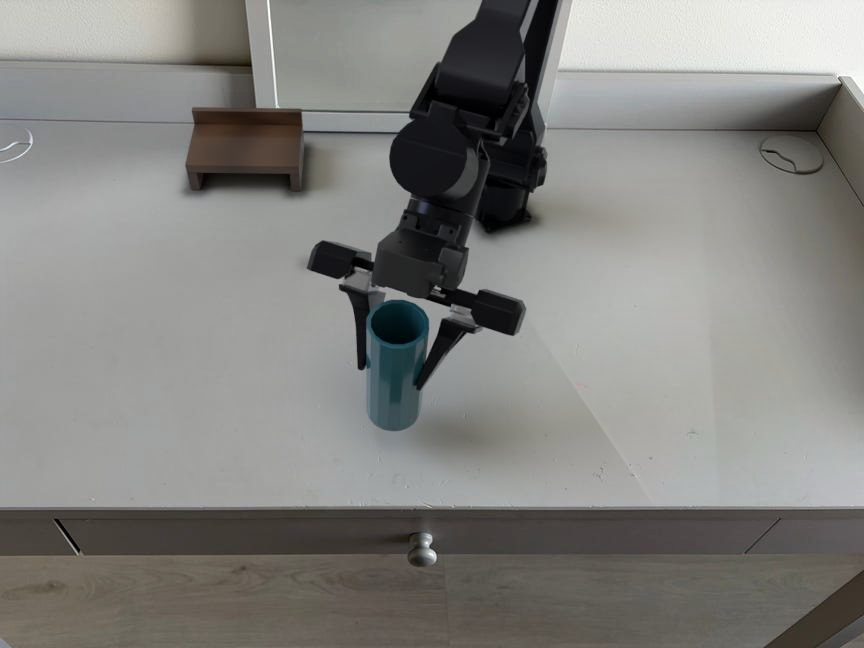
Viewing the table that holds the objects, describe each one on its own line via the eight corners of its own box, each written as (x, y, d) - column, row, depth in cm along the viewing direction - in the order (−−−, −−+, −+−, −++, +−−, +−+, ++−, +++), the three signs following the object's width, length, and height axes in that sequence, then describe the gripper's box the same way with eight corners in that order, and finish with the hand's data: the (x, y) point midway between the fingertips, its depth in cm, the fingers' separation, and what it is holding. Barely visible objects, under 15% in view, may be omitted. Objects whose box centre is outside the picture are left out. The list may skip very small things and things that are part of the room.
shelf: (304, 146, 105) (301, 108, 100) (300, 191, 99) (297, 153, 95) (200, 145, 104) (192, 106, 100) (190, 190, 99) (181, 151, 94)
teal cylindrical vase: (407, 379, 77) (413, 292, 67) (429, 421, 74) (439, 336, 64) (358, 395, 76) (357, 309, 65) (378, 438, 73) (380, 355, 62)
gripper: (309, 165, 60) (258, 355, 63) (541, 234, 56) (476, 433, 59) (352, 182, 71) (306, 343, 74) (549, 241, 67) (493, 409, 70)
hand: (389, 379), depth 69 cm, fingers closed on teal cylindrical vase, 5 cm apart
